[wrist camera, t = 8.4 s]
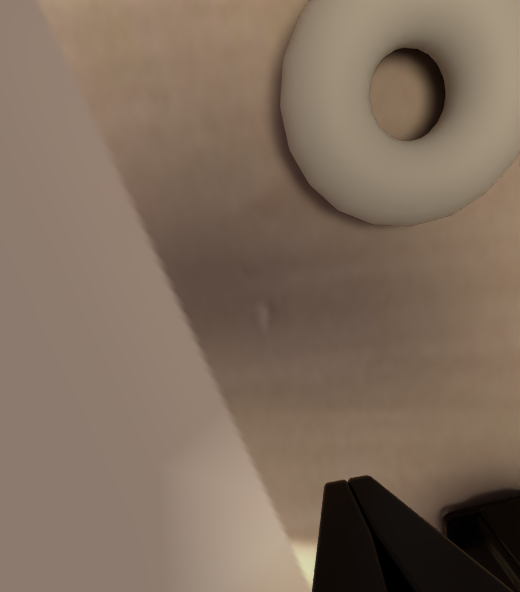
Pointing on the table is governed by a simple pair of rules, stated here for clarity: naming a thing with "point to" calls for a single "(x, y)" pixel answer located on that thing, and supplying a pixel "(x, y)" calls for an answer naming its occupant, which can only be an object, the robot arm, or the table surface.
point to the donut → (363, 126)
